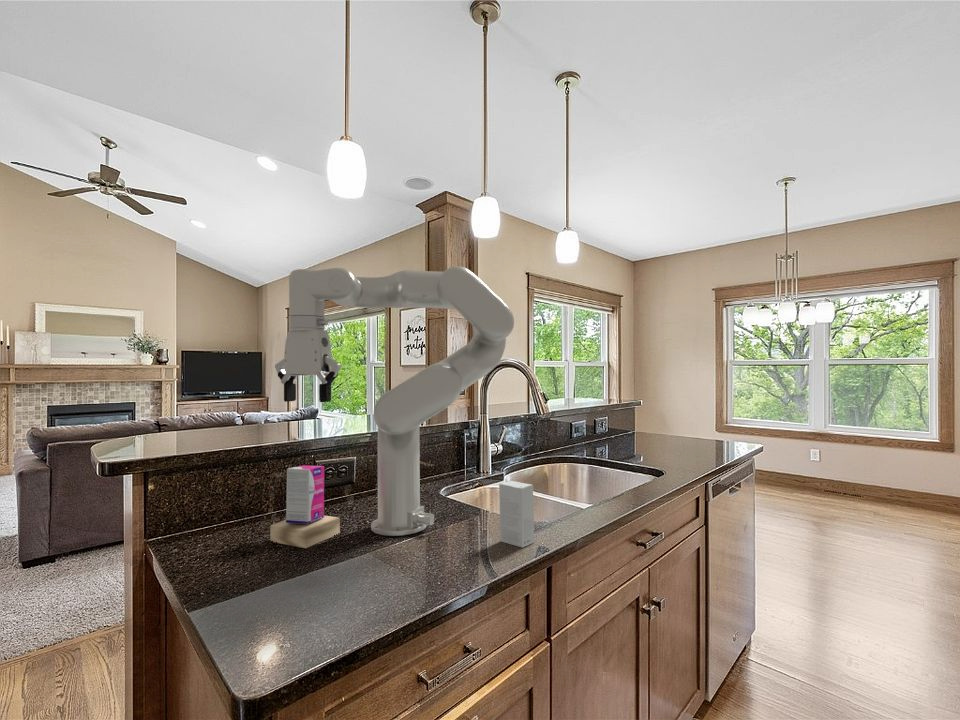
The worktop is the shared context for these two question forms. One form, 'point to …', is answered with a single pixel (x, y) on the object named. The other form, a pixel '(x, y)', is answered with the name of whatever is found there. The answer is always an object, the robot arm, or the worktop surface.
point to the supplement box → (305, 494)
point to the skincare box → (516, 513)
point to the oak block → (304, 532)
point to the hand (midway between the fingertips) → (307, 401)
